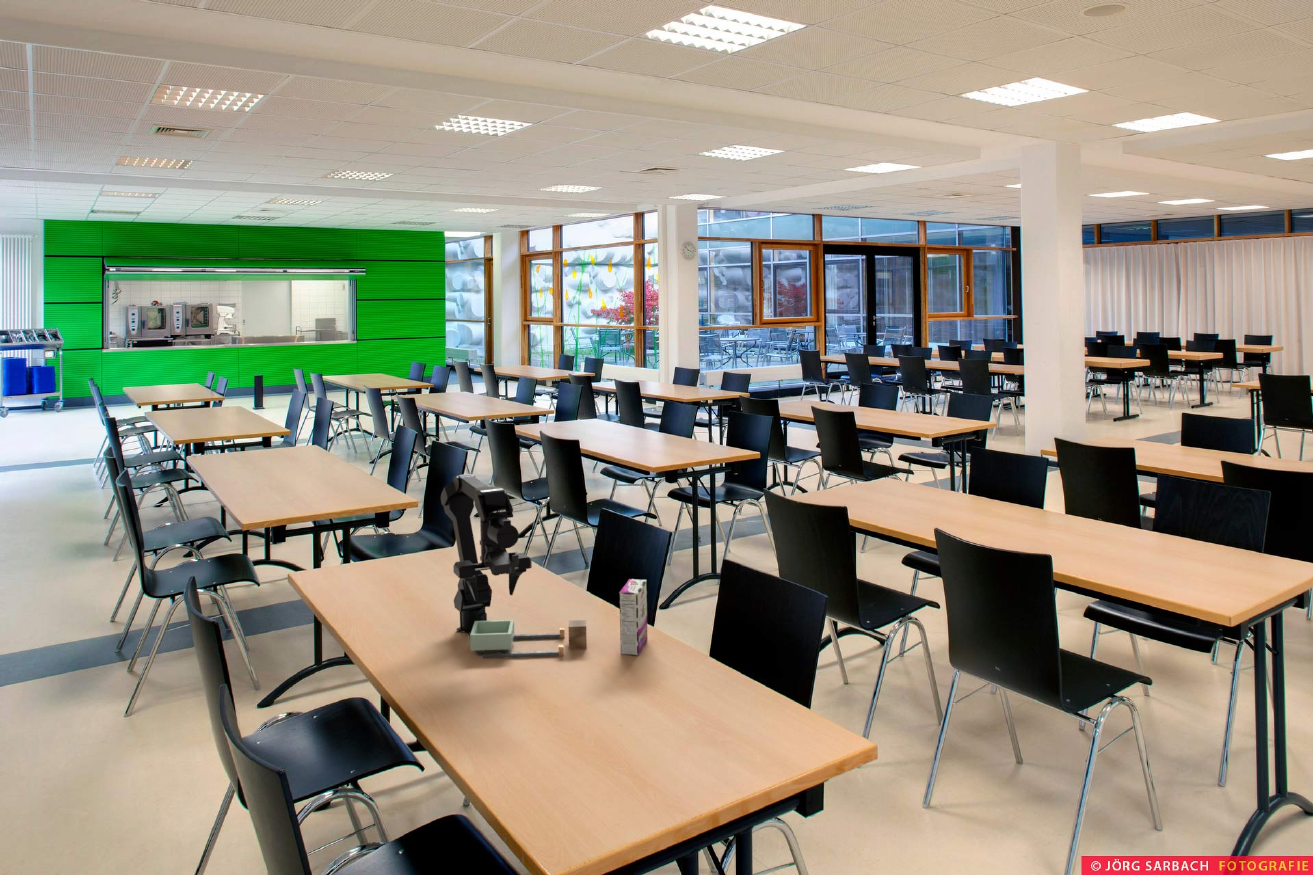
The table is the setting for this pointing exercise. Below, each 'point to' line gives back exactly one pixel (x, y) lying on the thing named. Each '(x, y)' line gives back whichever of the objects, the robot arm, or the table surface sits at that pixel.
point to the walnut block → (577, 634)
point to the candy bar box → (633, 616)
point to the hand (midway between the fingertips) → (493, 597)
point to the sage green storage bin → (492, 635)
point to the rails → (531, 654)
